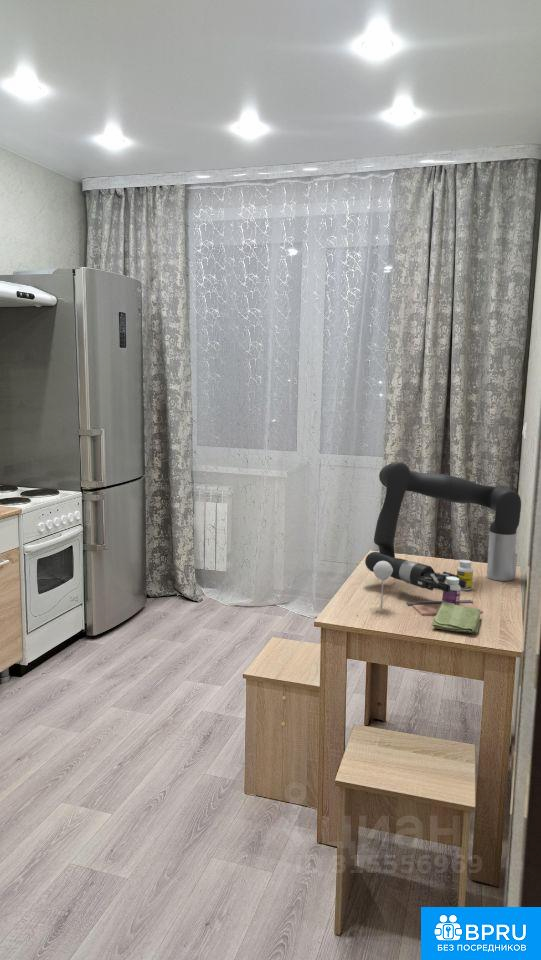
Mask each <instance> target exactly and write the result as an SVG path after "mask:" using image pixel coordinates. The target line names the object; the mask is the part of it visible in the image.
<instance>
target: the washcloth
mask: <svg viewBox="0 0 541 960" xmlns="http://www.w3.org/2000/svg"><path fill="white" fill-rule="evenodd" d="M478 608H479V607H478ZM478 608H473V607H467V606H459V605H455V604H451V603H446V602H442V603H441V605H440V607H439V610H438V612H437V615H434V618H433V620H432V623H431V626H432V627H434V629H439V630H443V631H451V632H458V633H467V634H468V633H469V634H473V635H477V633H479V627H480V620H481V618H480V617H481V613H480V608H479V609H478Z"/></svg>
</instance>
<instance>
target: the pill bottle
mask: <svg viewBox="0 0 541 960" xmlns="http://www.w3.org/2000/svg"><path fill="white" fill-rule="evenodd" d="M446 582H447V583H446ZM444 583H445V584H448V585H450V591H449V592H446V591H443V590H442V597H441V598H442V600H441V601H442V602H446V603H451V604H455V605H459V601H460V600H461V599H460V598H461V591H462V590H461V587H460V585H458V584H459V578H456V577H447V578H446V581H445V582H444Z"/></svg>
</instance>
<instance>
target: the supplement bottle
mask: <svg viewBox="0 0 541 960" xmlns="http://www.w3.org/2000/svg"><path fill="white" fill-rule="evenodd" d="M456 575H458V576H459V579H462V580H465V581H466V587H464V588H463V587H461V591H471V590H472V589H473V578H474V576H473V575H474V568H473V567H472V561H471V560H468V559H460V560H459V566H457V568H456Z"/></svg>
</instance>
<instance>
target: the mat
mask: <svg viewBox="0 0 541 960" xmlns="http://www.w3.org/2000/svg"><path fill="white" fill-rule="evenodd" d="M441 603H442V600H435V601H434V600H432V601H431V600H430V601H427V600H426V601H406V605H407V606H408V607H412V608H413V609H414V610H415V611H417V613H419V614H420V615H421V616H436V615H437V612H438V610H439V607H440V605H441ZM459 606H467V607H473V608H478V609H480V607H478V606H477V605H475V604H474V601H473V600H471V599H463V600H462V599H460V601H459ZM483 613H484V611H483V610H482V609H480V614H483Z"/></svg>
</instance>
